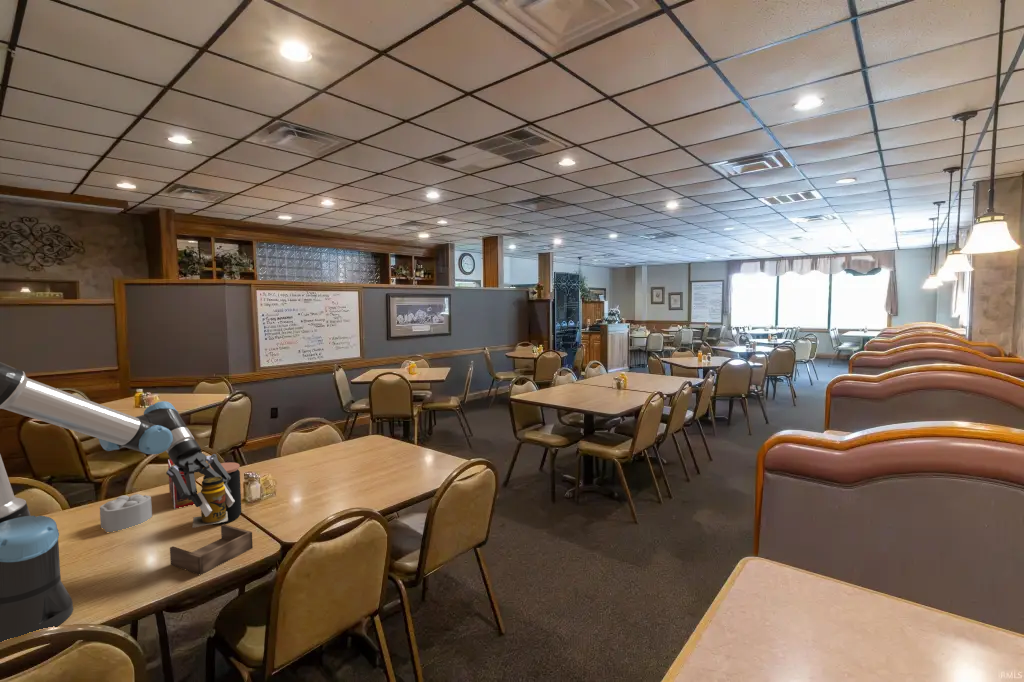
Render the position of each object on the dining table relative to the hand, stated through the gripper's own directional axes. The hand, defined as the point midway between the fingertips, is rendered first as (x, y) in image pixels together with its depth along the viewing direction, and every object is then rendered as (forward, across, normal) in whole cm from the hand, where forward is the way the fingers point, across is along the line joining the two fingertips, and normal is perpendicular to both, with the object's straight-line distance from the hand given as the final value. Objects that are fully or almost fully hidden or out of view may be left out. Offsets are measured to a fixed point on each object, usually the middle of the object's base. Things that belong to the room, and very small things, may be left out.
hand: (220, 508), depth 133 cm
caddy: (+8, +1, -13) cm, 15 cm away
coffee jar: (-7, -17, -28) cm, 33 cm away
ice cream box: (-28, -22, -50) cm, 61 cm away
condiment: (0, +1, -5) cm, 5 cm away
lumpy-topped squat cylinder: (-25, -2, -46) cm, 53 cm away
